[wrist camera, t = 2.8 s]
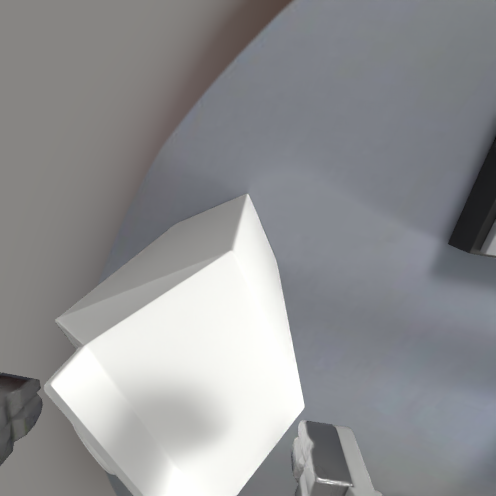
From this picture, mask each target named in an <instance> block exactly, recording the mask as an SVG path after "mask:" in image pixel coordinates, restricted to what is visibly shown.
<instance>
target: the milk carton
mask: <svg viewBox="0 0 496 496" xmlns="http://www.w3.org/2000/svg"><path fill="white" fill-rule="evenodd" d="M55 322H56V323H57V325H58V326H59V328H60V329H61V330H62V332H63V333H64V334H65V336H66V337H67V338H68V340H69V341H70V342H71V344H72V345H73V346H74V348H75V349H76V351H75V352H74V353H73V354H72V355H71V357H70V358H69V359H68V360H67V361H66V362H65V363H64V364H63V365H62V366H61V367H60V368H59V369H58V370H57V371H56V372H55V373H54V374H53V375H52V377H51V378H50V379H49V380H48V381H47V382H46V383H45V385H44V391H45V393H46V394H47V395H48V396H49V397H50V398H51V400H52V401H53V402H54V403H55V404H56V405H57V407H58V408H59V409H60V410H61V411H62V412H63V413H64V415H65V416H66V417H67V418H68V419H69V421H70V422H71V423H72V425H73V427H74V429H75V431H76V433H77V435H78V436H79V438H80V440H81V441H82V443H83V444H84V445H85V447H86V448H87V450H88V451H89V452H90V453H91V455H92V456H93V457H94V458H95V460H96V461H97V462H98V463H99V464H100V466H101V467H102V468H103V469H104V470H105V471H106V472H107V473H109V474H111V475H114V474H116V475H117V477H118V478H119V479H120V480H121V481H122V482H123V484H124V485H125V486H126V487H127V488H128V489H129V491H130V492H131V493H132V494H133V495H134V496H236V495H237V494H238V493H239V492H240V490H241V489H242V488H243V486H244V485H245V484H246V483H247V481H248V480H249V479H250V477H251V476H252V475H253V473H254V472H255V471H256V470H257V468H258V467H259V466H260V464H261V463H262V462H263V461H264V459H265V458H266V457H267V455H268V454H269V453H270V451H271V450H272V449H273V448H274V446H275V445H276V444H277V442H278V441H279V440H280V439H281V437H282V436H283V435H284V433H285V432H286V431H287V429H288V428H289V427H290V426H291V424H292V423H293V422H294V420H295V419H296V418H297V416H298V415H299V414H300V413H301V411H302V410H303V409H304V401H303V396H302V391H301V385H300V380H299V375H298V370H297V365H296V359H295V354H294V349H293V344H292V338H291V333H290V328H289V323H288V318H287V312H286V307H285V302H284V297H283V292H282V286H281V281H280V276H279V271H278V266H277V261H276V259H275V256H274V254H273V251H272V249H271V247H270V244H269V242H268V239H267V237H266V235H265V232H264V230H263V227H262V225H261V222H260V220H259V218H258V215H257V213H256V210H255V208H254V206H253V203H252V201H251V199H250V196H249V195H248V194H244V195H242V196H240V197H237V198H235V199H233V200H230V201H228V202H225V203H223V204H221V205H218V206H216V207H214V208H211V209H209V210H207V211H204V212H202V213H200V214H197V215H195V216H193V217H190V218H188V219H186V220H183V221H181V222H178V223H176V224H175V225H174V226H172V227H171V228H170V229H168V230H167V231H166V232H165V233H163V234H162V235H161V236H160V237H158V238H157V239H156V240H155V241H153V242H152V243H151V244H150V245H148V246H147V247H146V248H145V249H143V250H142V251H141V252H140V253H138V254H137V255H136V256H134V257H133V258H132V259H131V260H129V261H128V262H127V263H126V264H124V265H123V266H122V267H121V268H119V269H118V270H117V271H116V272H114V273H113V274H112V275H111V276H109V277H108V278H107V279H106V280H104V281H103V282H102V283H101V284H99V285H98V286H97V287H95V288H94V289H93V290H92V291H90V292H89V293H88V294H87V295H85V296H84V297H83V298H82V299H80V300H79V301H78V302H77V303H75V304H74V305H73V306H72V307H70V309H68V310H67V311H65V312H64V313H63V314H62V315H60V316H59V317H58V318H57V319H55Z"/></svg>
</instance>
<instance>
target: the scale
mask: <svg viewBox="0 0 496 496" xmlns="http://www.w3.org/2000/svg"><path fill="white" fill-rule="evenodd" d="M448 244H449V245H452V246H454V247H456V248H458V249H461V250H463V251H465V252H467V253H470V254H476V255H482V256H487V257H493V258H496V138H495V140H494V142H493V144H492V146H491V149H490V151H489V153H488V155H487V158H486V160H485V162H484V164H483V167H482V169H481V171H480V173H479V176H478V178H477V180H476V182H475V184H474V187H473V189H472V191H471V193H470V196H469V198H468V200H467V202H466V205H465V207H464V209H463V211H462V214H461V216H460V218H459V220H458V222H457V225H456V227H455V229H454V231H453V234H452V236H451V238H450V240H449V243H448Z"/></svg>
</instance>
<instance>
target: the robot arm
mask: <svg viewBox="0 0 496 496" xmlns="http://www.w3.org/2000/svg"><path fill="white" fill-rule="evenodd" d="M40 388H41V387H40V381H39V380H38V379H33V378H27V377H22V376H17V375H12V374H6V373H1V372H0V466H1V464H2V463H3V462H4V461H5V460H6V458H7V457H8V456H9V455H10V454H11V453H12V451H13V446H14V442H15V441H17V440H19V439H20V438H22V437H24V436H25V435H27V433H28V432H29V431H30V430H31V429H32V427H33V426H34V425H35V423H36V421H37V419H38V417H39V416H40V414H41V410H42V399H41V398H40V397H39V395H38V394H37V391H38V390H39V389H40ZM298 432H299V436H298V437H296V438H295V439H294V443H293V446H292V456H291V458H292V473H293V476H294V478H295V480H296V481H297V483H298V486H297V489H296V492H295V496H383V495H382V494H381V493H380V491H375V490H374V489H373V486H372V483H371V480H370V478H369V475H368V472H367V469H366V467H365V464H364V461H363V458H362V456H361V453H360V450H359V447H358V445H357V442H356V439H355V436H354V434H353V431H352V430H351V429H350V428H349V427H343V426H336V425H332V424H326V423H319V422H312V421H304V420H302V421H301V422H300V424H299V427H298Z"/></svg>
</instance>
